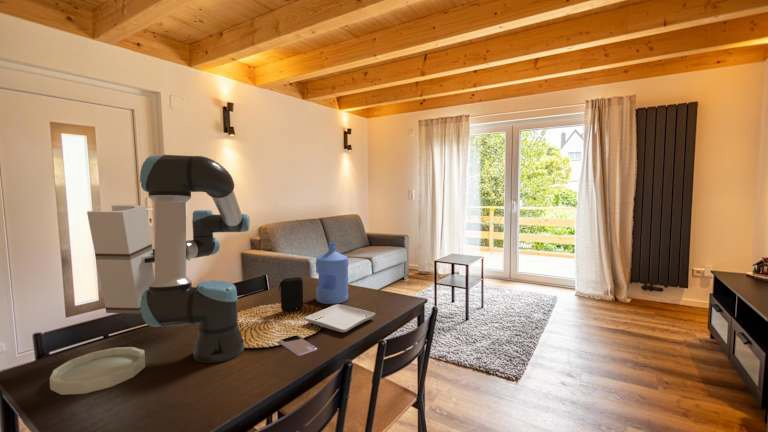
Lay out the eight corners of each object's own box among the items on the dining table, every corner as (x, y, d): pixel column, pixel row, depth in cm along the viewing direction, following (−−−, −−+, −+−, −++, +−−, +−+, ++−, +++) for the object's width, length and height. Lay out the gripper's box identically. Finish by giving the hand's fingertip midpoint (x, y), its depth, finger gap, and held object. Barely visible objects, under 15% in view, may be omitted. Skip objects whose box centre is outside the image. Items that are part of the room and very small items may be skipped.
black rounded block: (279, 313, 152) (278, 280, 151) (278, 311, 155) (277, 278, 154) (303, 309, 157) (303, 277, 156) (302, 307, 160) (301, 276, 158)
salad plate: (376, 320, 146) (376, 312, 146) (344, 338, 128) (344, 329, 128) (337, 310, 157) (337, 302, 157) (302, 325, 139) (302, 317, 139)
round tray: (160, 364, 107) (160, 355, 107) (77, 402, 88) (76, 391, 88) (119, 351, 116) (119, 342, 116) (36, 382, 97) (35, 372, 97)
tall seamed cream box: (160, 299, 128) (145, 205, 120) (139, 313, 118) (122, 212, 110) (129, 298, 128) (113, 205, 120) (106, 312, 118) (86, 211, 110)
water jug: (337, 293, 182) (336, 239, 180) (354, 300, 170) (354, 243, 168) (310, 299, 172) (309, 242, 170) (326, 307, 160) (326, 246, 158)
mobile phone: (296, 334, 129) (318, 347, 118) (296, 336, 129) (318, 350, 118) (277, 339, 124) (298, 354, 113) (277, 342, 124) (298, 357, 113)
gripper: (203, 263, 134) (144, 275, 114) (162, 257, 144) (102, 268, 124) (202, 243, 133) (143, 252, 114) (161, 239, 143) (101, 247, 124)
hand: (121, 260), depth 119 cm, fingers closed on tall seamed cream box, 12 cm apart
